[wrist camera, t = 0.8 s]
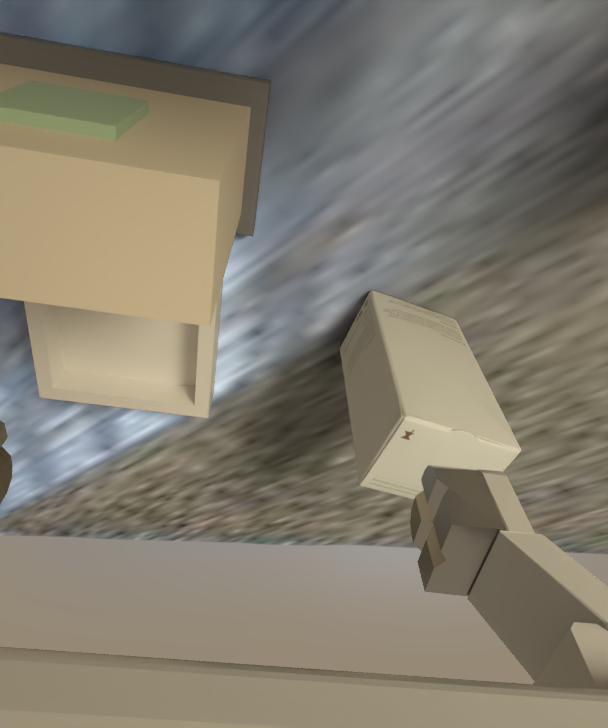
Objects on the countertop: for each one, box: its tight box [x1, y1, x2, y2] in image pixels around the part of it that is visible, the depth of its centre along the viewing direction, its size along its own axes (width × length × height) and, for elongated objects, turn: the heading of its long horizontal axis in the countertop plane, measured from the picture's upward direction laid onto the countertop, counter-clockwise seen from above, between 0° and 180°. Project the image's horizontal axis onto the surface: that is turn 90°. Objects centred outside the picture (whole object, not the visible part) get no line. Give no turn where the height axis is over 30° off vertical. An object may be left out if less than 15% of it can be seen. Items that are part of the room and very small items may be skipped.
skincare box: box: [340, 290, 521, 499], centre depth 39 cm, size 8×7×16 cm
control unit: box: [0, 32, 271, 326], centre depth 30 cm, size 10×18×16 cm, turn 81°
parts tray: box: [24, 281, 223, 418], centre depth 43 cm, size 14×14×4 cm
